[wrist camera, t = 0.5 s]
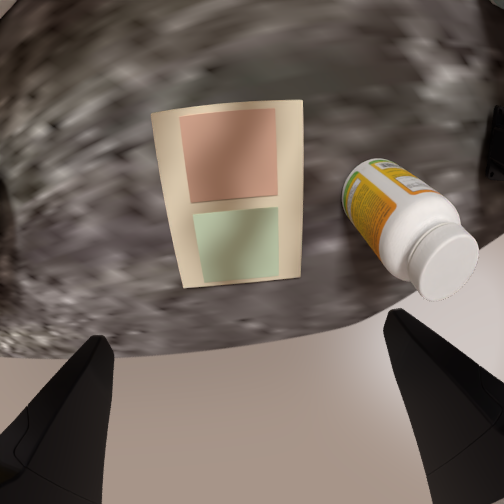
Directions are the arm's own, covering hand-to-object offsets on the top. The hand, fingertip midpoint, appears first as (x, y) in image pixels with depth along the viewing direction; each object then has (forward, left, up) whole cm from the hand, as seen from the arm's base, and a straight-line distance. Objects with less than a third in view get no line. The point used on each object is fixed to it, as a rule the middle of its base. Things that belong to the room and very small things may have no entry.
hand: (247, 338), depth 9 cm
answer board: (0, +1, -13) cm, 13 cm away
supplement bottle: (-10, +1, -13) cm, 16 cm away
